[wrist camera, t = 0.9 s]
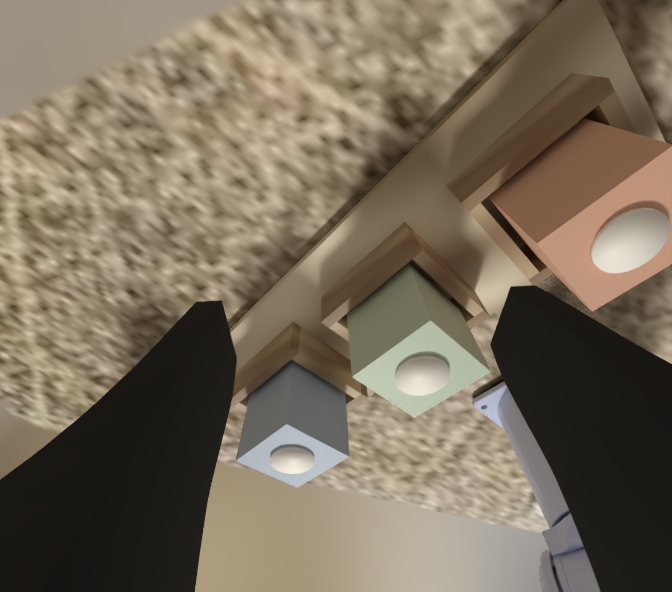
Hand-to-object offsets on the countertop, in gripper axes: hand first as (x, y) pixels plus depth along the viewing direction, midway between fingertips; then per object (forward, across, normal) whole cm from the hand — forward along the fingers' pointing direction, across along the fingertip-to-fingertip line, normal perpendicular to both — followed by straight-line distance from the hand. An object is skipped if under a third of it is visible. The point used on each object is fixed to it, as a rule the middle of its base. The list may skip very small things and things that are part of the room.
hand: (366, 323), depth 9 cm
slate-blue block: (+8, +3, +13) cm, 15 cm away
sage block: (+8, -3, +7) cm, 11 cm away
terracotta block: (+8, -10, 0) cm, 13 cm away
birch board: (+10, -3, +7) cm, 13 cm away
